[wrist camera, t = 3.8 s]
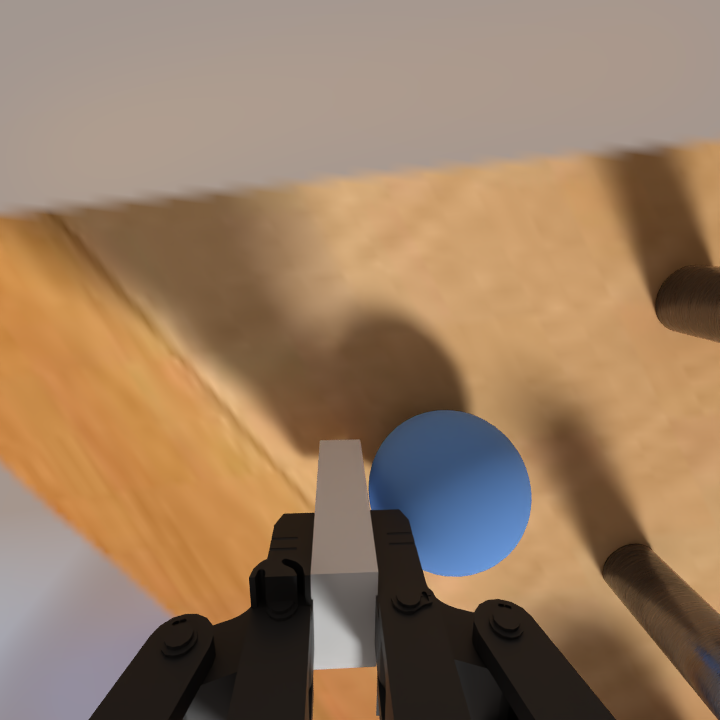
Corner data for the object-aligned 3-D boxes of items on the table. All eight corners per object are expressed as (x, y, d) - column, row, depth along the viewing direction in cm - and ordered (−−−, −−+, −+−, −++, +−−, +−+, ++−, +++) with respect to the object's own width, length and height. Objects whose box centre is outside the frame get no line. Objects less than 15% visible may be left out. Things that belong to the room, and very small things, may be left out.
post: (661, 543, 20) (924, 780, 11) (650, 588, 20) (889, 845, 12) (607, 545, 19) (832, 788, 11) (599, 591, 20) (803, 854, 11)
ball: (352, 395, 16) (481, 384, 17) (351, 520, 17) (471, 501, 19) (405, 467, 11) (582, 443, 12) (398, 636, 12) (557, 597, 14)
